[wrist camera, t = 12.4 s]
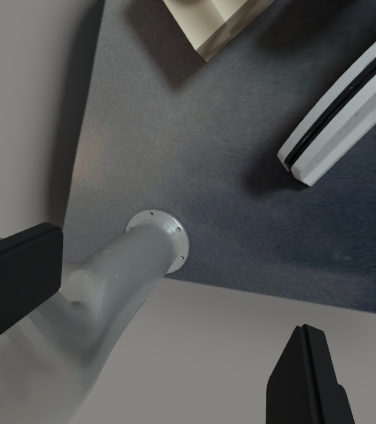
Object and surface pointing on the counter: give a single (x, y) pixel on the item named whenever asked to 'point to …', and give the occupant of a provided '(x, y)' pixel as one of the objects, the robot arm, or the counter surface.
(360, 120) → the white curved block
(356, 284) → the counter surface
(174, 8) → the block
